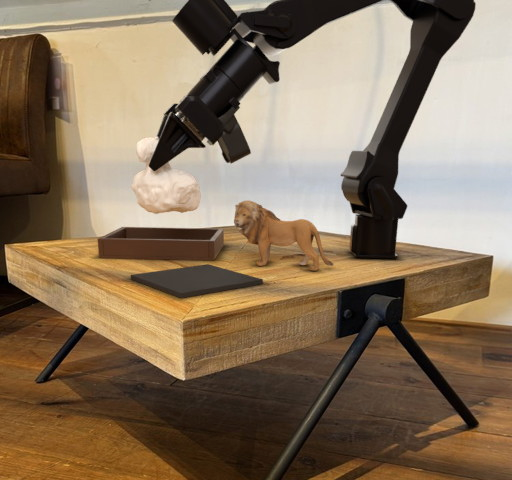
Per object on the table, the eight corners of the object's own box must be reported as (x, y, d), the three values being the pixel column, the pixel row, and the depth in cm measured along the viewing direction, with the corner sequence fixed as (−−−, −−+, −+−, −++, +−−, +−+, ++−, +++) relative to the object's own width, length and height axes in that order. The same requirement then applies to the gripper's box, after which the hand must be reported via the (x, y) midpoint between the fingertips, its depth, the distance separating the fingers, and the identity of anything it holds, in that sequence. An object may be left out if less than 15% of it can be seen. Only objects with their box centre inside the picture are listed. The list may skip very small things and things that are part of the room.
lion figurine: (228, 265, 82) (228, 201, 79) (239, 259, 87) (239, 198, 84) (330, 272, 78) (334, 205, 75) (336, 265, 83) (339, 202, 80)
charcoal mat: (208, 268, 80) (208, 264, 80) (262, 283, 71) (263, 279, 71) (130, 279, 73) (130, 274, 73) (180, 298, 64) (180, 293, 64)
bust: (135, 226, 85) (91, 164, 77) (161, 192, 89) (122, 130, 81) (195, 230, 79) (154, 163, 71) (221, 193, 82) (185, 125, 74)
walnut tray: (223, 245, 99) (223, 228, 98) (214, 260, 86) (214, 241, 85) (123, 243, 99) (122, 226, 98) (98, 257, 87) (97, 238, 86)
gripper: (286, 126, 72) (202, 216, 73) (251, 129, 89) (184, 203, 91) (224, 54, 68) (136, 152, 69) (200, 72, 85) (130, 150, 86)
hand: (150, 168), depth 79 cm, fingers closed on bust, 4 cm apart
